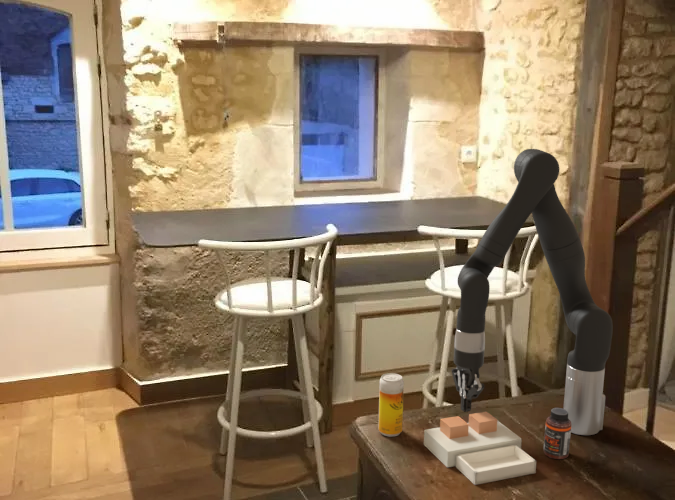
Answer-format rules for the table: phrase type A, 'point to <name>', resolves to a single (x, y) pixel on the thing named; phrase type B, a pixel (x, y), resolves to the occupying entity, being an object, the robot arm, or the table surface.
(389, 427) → the beer can
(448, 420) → the orange square block
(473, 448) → the slab
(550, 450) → the supplement bottle
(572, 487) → the table surface
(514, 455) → the tray
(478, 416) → the tile
